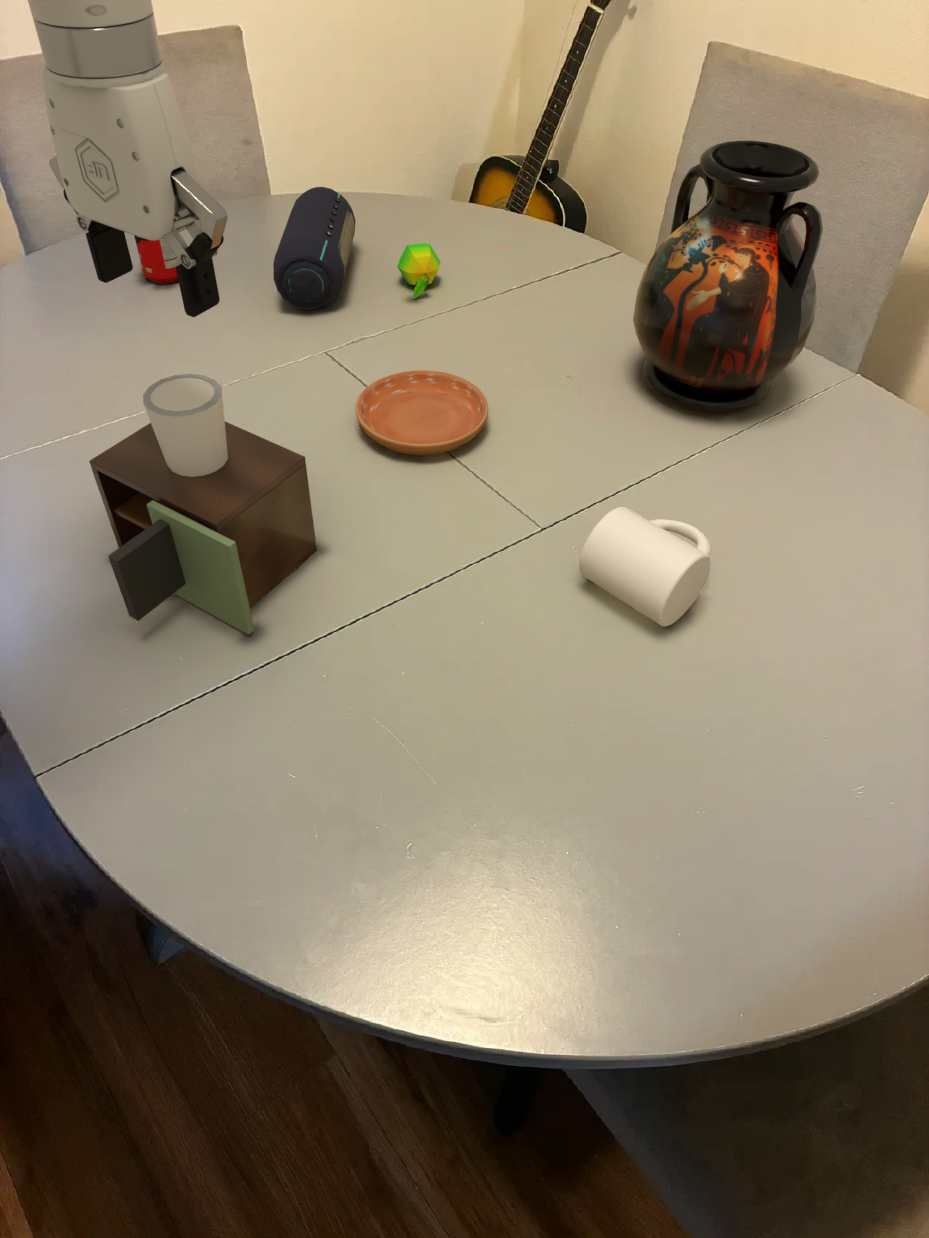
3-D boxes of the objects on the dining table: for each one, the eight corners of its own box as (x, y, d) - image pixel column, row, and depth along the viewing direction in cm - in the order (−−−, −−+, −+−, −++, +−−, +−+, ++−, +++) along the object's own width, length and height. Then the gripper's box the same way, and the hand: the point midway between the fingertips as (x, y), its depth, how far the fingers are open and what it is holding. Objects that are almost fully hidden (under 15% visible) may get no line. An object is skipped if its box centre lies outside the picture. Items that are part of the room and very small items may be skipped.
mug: (654, 641, 85) (670, 581, 79) (573, 589, 89) (583, 529, 84) (723, 581, 91) (742, 521, 85) (644, 535, 96) (658, 475, 90)
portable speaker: (343, 320, 126) (338, 250, 119) (273, 318, 126) (263, 248, 119) (359, 244, 143) (356, 179, 136) (297, 242, 143) (290, 177, 136)
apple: (410, 224, 131) (428, 249, 125) (441, 249, 135) (459, 274, 130) (381, 264, 134) (397, 290, 128) (412, 286, 138) (429, 313, 132)
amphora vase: (588, 377, 117) (620, 151, 97) (691, 328, 127) (740, 113, 107) (718, 453, 106) (785, 215, 86) (820, 392, 116) (902, 166, 96)
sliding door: (203, 675, 80) (177, 587, 72) (125, 630, 84) (92, 540, 76) (254, 630, 84) (235, 541, 76) (178, 588, 88) (152, 499, 80)
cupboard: (237, 619, 85) (215, 524, 77) (121, 556, 91) (88, 460, 82) (317, 550, 92) (305, 456, 84) (204, 495, 98) (182, 402, 89)
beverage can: (174, 263, 137) (156, 182, 128) (195, 278, 134) (179, 195, 125) (136, 275, 134) (116, 193, 125) (157, 290, 131) (138, 207, 122)
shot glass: (209, 488, 80) (195, 422, 75) (144, 470, 82) (126, 404, 77) (248, 446, 85) (236, 382, 79) (186, 430, 86) (170, 366, 81)
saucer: (423, 482, 101) (423, 461, 99) (329, 426, 108) (327, 404, 106) (514, 425, 109) (515, 404, 107) (421, 376, 116) (421, 355, 114)
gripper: (-31, 36, 60) (48, 281, 72) (152, 85, 54) (204, 344, 66) (59, 14, 64) (119, 248, 77) (238, 57, 58) (272, 305, 70)
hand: (159, 292), depth 71 cm, fingers open, 9 cm apart
